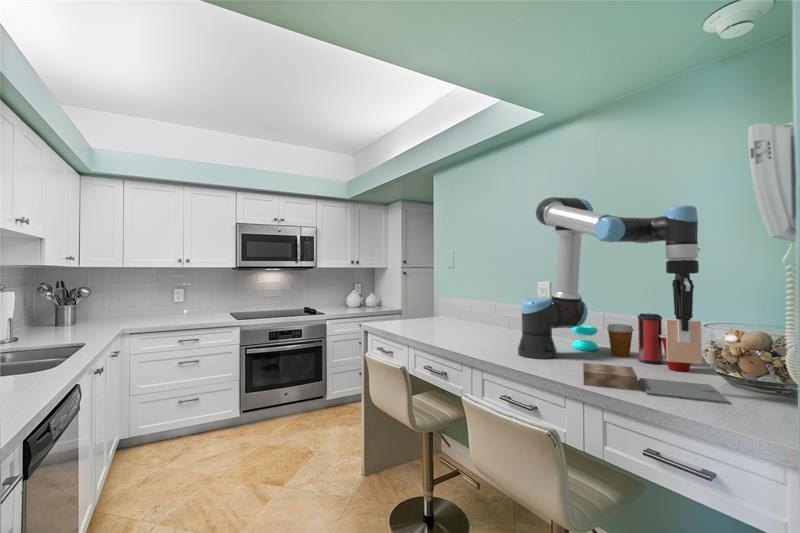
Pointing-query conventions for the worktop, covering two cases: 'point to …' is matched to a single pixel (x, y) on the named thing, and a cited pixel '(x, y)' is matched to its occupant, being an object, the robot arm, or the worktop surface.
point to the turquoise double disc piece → (585, 344)
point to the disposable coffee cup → (620, 339)
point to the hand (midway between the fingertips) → (683, 341)
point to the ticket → (683, 343)
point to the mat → (682, 390)
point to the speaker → (650, 338)
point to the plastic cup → (674, 365)
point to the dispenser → (609, 376)
